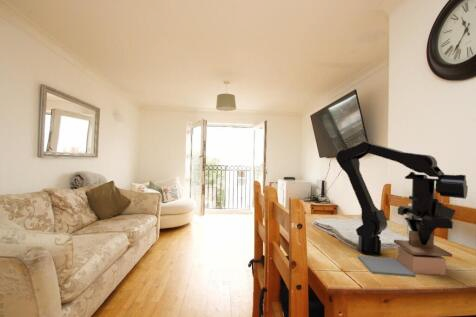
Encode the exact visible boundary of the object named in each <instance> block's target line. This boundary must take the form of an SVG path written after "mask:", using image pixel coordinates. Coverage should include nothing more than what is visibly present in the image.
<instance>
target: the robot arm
mask: <svg viewBox="0 0 476 317" xmlns="http://www.w3.org/2000/svg"><path fill="white" fill-rule="evenodd" d="M370 154H371V155H373V156H377V157H380V158H383V159H387V160H390V161H394V162H396V163H399V164H401V165H403V166H404V167H406V168H407V169H410V170H412V171H410V172H409V174H407V175H406V176H404V179H406V180H412V184H411V185H412V187H411V195H409V196H408V199H409V200H410V201H411V203H412V207H409V206H408V205H406V206H405V205H400V206H399V207H398V208H397V215H400V216H404V215H406V217H404V220H406V222H407V226H408V225H409V227H410V228H411V230H412V231H418V233H419V237H420V240H421V243H422V245H426V244H427V242H428V240H429V238H430V236H431V234H432V233H433V232H434V230H436V229H447V230H448V229H450V230H452V229H454V228H453V227H454V222H453V218H454V216H455V214H456V210H455V209H453V208H451V207H447V206H445V205H443V203H442V202H440V201H439V200H438V198H435V192H436V193H437V194H439V196H441V197H444V198H445V197H446V198H454V199H455V198H456V199H463V200H464V199H465V200H466V198H467V197H468V187H469V186H468V184H467V183H468V182H467V175H466V174H445V172H443V170H441V168H440V167H439V166H438V161H437V160H436V158H435V157H434V156H432V155H430V154H429V155H428V154H421V153H412V152H404V151H402V150H401V151H400V150H397V149H394V148H391V147H386V146H383V145H380V144H376V143H374V142H371V141H362V142H360V143H359V144H357V145H353V146H351V147H349V148H346V149H341V150H339V151H338V152H337V154H336V155H335V160H336V162H337V163H338V165H339V167H340V168H341V169H342V171H344V172H345V174H346V175H347V177H348V180H349V183H350V184H351V187H352V189H353V191H354V194H355V196H356V199H357V202H358V204H359V207H360V210H361V215H360V216H361V222H362V225H360V226H359V227H357V228H356V229H355V231H356V235H357V236H358V240H357V241H358V243H357V244H358V246H356V249H357V250H358V251H359V252H360V253H361V254H362V255H369V256H370V255H373V256H382V253H381V252H382V240H381V237H380V235H381V234H382V232H383V231H385V230H386V229H387V227H388V220H389V219H388V218H387V217H386V215H385V214H386V213H385V211H384V209H379V208H377V206H376V205H375V202H374V201H373V198H372V196H371V194H370V191H369V190H368V189H369V188H368V187H367V185H366V182H365V180H364V177H363V175H362V173H361V170H360V168H361V166H360V165H361V163H360V159H362V158H364V157H365V156H367V155H370ZM416 172H417V173H416ZM418 173H419V174H418Z"/></svg>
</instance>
